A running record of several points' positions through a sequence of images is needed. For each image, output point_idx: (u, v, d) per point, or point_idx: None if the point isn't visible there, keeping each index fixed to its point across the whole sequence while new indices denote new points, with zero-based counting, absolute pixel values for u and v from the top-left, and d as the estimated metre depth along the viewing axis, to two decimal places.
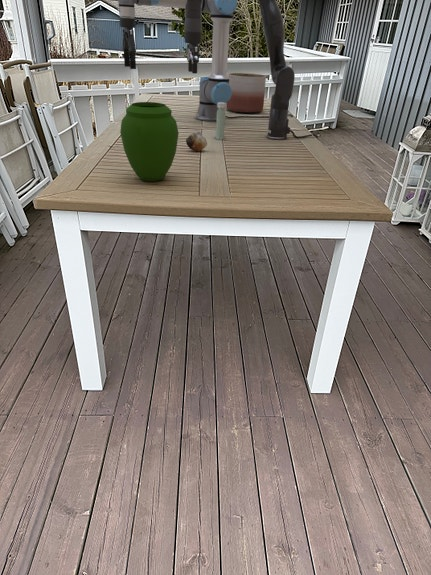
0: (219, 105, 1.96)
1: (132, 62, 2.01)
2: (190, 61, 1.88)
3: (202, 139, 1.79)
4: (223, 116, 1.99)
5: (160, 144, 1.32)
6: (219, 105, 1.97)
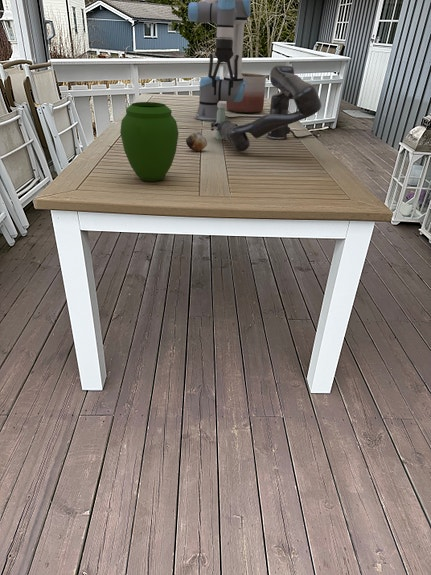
0: (219, 105, 1.96)
1: (214, 88, 1.94)
2: None
3: (202, 139, 1.79)
4: (223, 116, 1.99)
5: (160, 144, 1.32)
6: (219, 105, 1.97)
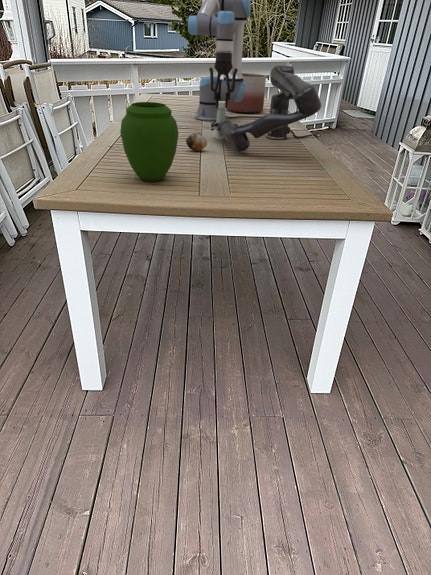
0: (219, 105, 1.96)
1: (216, 100, 1.97)
2: None
3: (202, 139, 1.79)
4: (223, 116, 1.99)
5: (160, 144, 1.32)
6: (219, 105, 1.97)
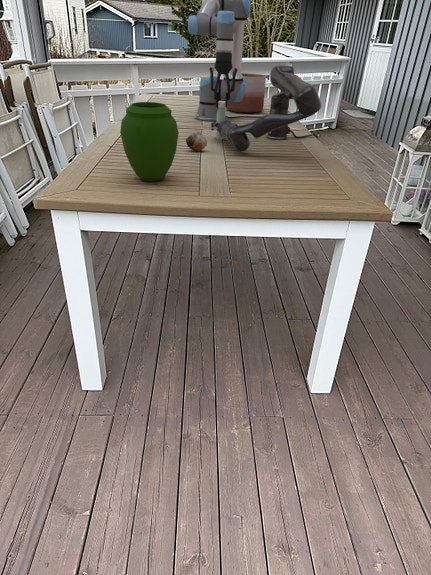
0: (225, 105, 1.98)
1: (216, 100, 1.97)
2: None
3: (202, 139, 1.79)
4: (223, 116, 1.99)
5: (160, 144, 1.32)
6: (225, 105, 1.98)
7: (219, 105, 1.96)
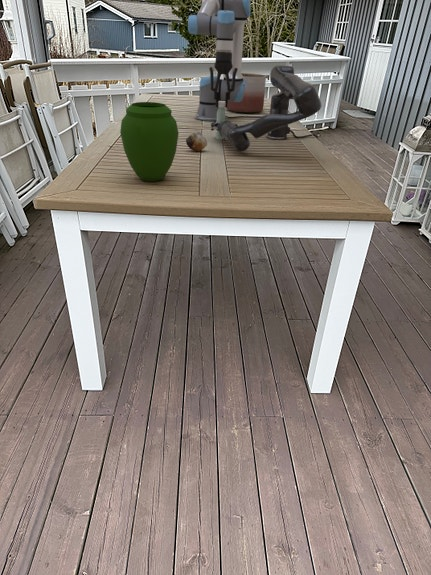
0: None
1: (216, 100, 1.97)
2: None
3: (202, 139, 1.79)
4: (223, 116, 1.99)
5: (160, 144, 1.32)
6: None
7: (225, 105, 1.98)
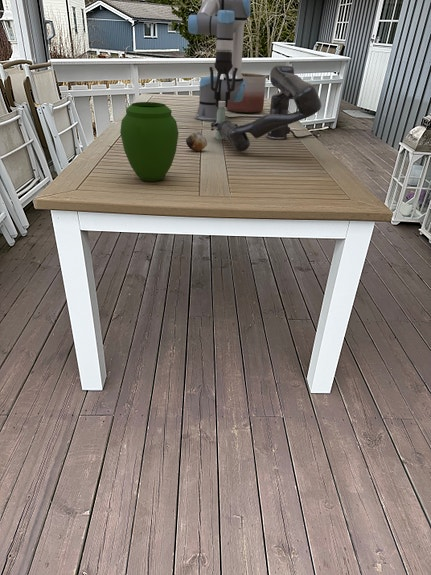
0: (219, 104, 1.96)
1: (216, 100, 1.96)
2: None
3: (202, 139, 1.79)
4: (223, 116, 1.99)
5: (160, 144, 1.32)
6: (219, 104, 1.96)
7: None
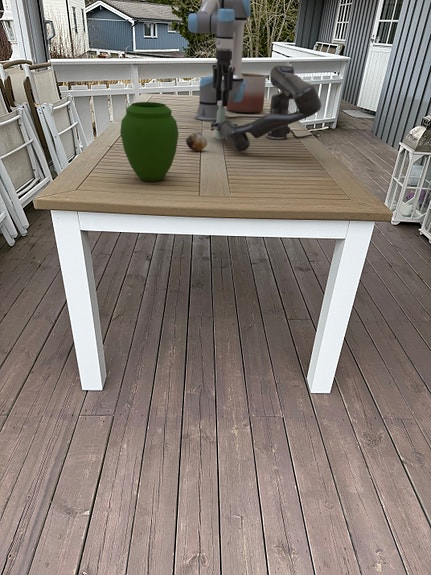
0: None
1: (225, 100, 1.95)
2: None
3: (202, 139, 1.79)
4: (223, 116, 1.99)
5: (160, 144, 1.32)
6: None
7: (219, 103, 1.96)
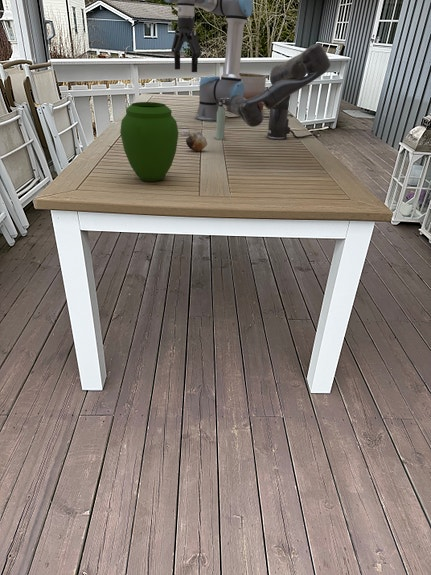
0: None
1: (194, 65, 1.89)
2: None
3: (202, 139, 1.79)
4: (223, 116, 1.99)
5: (160, 144, 1.32)
6: None
7: (183, 133, 2.09)
